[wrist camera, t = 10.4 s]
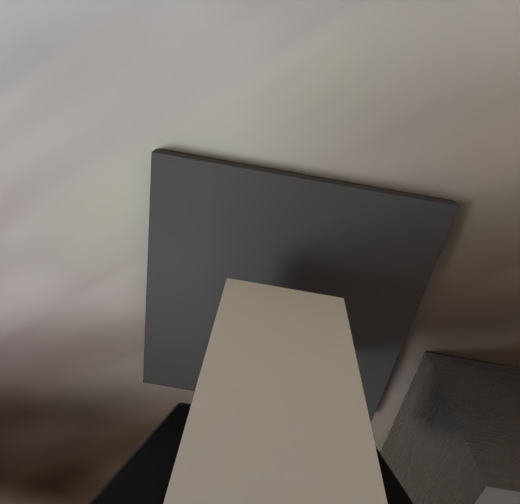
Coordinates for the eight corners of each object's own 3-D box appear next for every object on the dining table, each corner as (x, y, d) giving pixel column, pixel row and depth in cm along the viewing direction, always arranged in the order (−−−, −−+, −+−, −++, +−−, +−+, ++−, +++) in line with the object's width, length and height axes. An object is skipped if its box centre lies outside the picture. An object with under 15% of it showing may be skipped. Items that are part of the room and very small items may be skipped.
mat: (147, 373, 14) (143, 381, 14) (156, 148, 11) (151, 152, 10) (369, 411, 14) (371, 421, 14) (453, 201, 11) (458, 206, 10)
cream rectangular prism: (214, 367, 12) (89, 883, 4) (226, 277, 10) (76, 813, 3) (317, 384, 12) (360, 925, 4) (343, 298, 10) (467, 877, 3)
